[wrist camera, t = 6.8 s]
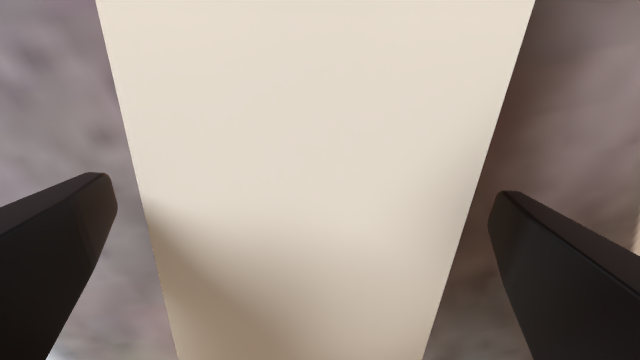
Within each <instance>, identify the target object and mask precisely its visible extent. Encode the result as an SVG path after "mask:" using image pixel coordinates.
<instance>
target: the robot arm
mask: <svg viewBox="0 0 640 360" xmlns="http://www.w3.org/2000/svg"><path fill="white" fill-rule="evenodd" d="M117 208H118V207H117V201H116V197H115V193H114V190H113V186H112V182H111V179H110V177H109V176H108V175H107V174H106V173H96V172H87V173H84V174H81V175H79V176H77V177H74V178H72V179H69V180H67V181H64V182H62V183H59V184H57V185H54V186H52V187H49V188H47V189H44V190H42V191H40V192H37V193H35V194H32V195H30V196H27V197H25V198H22V199H20V200H17V201H15V202H12V203H10V204H7V205H5V206H3V207H0V360H46V358H47V356H48V354H49V353H50V351H51V349H52V347H53V345H54V343H55V342H56V340H57V338H58V336H59V334H60V332H61V330H62V329H63V327H64V325H65V323H66V321H67V319H68V318H69V316H70V314H71V312H72V310H73V308H74V306H75V305H76V303H77V301H78V299H79V297H80V295H81V294H82V292H83V290H84V288H85V286H86V284H87V282H88V281H89V279H90V277H91V275H92V273H93V271H94V269H95V266H96V264H97V262H98V259H99V257H100V254H101V252H102V249H103V247H104V244H105V242H106V239H107V237H108V234H109V232H110V229H111V227H112V224H113V222H114V219H115V217H116V214H117ZM488 231H489V235H490V238H491V242H492V246H493V249H494V253H495V256H496V260H497V264H498V267H499V271H500V275H501V278H502V281H503V284H504V287H505V290H506V293H507V295H508V298H509V300H510V303H511V305H512V308H513V310H514V312H515V315H516V317H517V320H518V322H519V325H520V327H521V330H522V332H523V335H524V337H525V339H526V342H527V344H528V347H529V349H530V352H531V354H532V357H533V359H534V360H640V256H638V255H636V254H634V253H633V252H631V251H629V250H627V249H625V248H623V247H621V246H620V245H618V244H616V243H614V242H612V241H610V240H608V239H607V238H605V237H603V236H601V235H599V234H597V233H595V232H594V231H592V230H590V229H588V228H586V227H584V226H582V225H581V224H579V223H577V222H575V221H573V220H571V219H569V218H568V217H566V216H564V215H562V214H560V213H558V212H556V211H555V210H553V209H551V208H549V207H547V206H545V205H543V204H542V203H540V202H538V201H536V200H534V199H532V198H530V197H529V196H527V195H525V194H523V193H521V192H518V191H501V192H499V193H498V194H497V196H496V199H495V201H494V204H493V207H492V210H491V213H490V216H489V219H488Z"/></svg>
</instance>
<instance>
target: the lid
mask: <svg viewBox="0 0 640 360" xmlns="http://www.w3.org/2000/svg"><path fill="white" fill-rule="evenodd" d="M534 3H535V0H96V5H97V9H98V13H99V18H100V22H101V26H102V31H103V35H104V39H105V44H106V48H107V52H108V57H109V61H110V66H111V70H112V74H113V79H114V83H115V87H116V92H117V96H118V100H119V105H120V109H121V113H122V118H123V122H124V126H125V131H126V135H127V139H128V144H129V148H130V153H131V157H132V161H133V166H134V170H135V174H136V179H137V183H138V187H139V192H140V196H141V200H142V205H143V209H144V213H145V218H146V222H147V227H148V231H149V235H150V240H151V244H152V248H153V253H154V257H155V261H156V266H157V270H158V274H159V279H160V283H161V287H162V292H163V296H164V300H165V305H166V309H167V314H168V318H169V322H170V327H171V331H172V335H173V340H174V344H175V348H176V353H177V357H178V360H422V357H423V354H424V351H425V348H426V345H427V342H428V338H429V335H430V332H431V329H432V326H433V323H434V319H435V316H436V313H437V310H438V307H439V304H440V300H441V297H442V294H443V291H444V288H445V285H446V281H447V278H448V275H449V272H450V269H451V266H452V262H453V259H454V256H455V253H456V250H457V247H458V243H459V240H460V237H461V234H462V231H463V228H464V224H465V221H466V218H467V215H468V212H469V208H470V205H471V202H472V199H473V196H474V193H475V189H476V186H477V183H478V180H479V177H480V174H481V170H482V167H483V164H484V161H485V158H486V155H487V151H488V148H489V145H490V142H491V139H492V136H493V132H494V129H495V126H496V123H497V120H498V117H499V113H500V110H501V107H502V104H503V101H504V98H505V94H506V91H507V88H508V85H509V82H510V79H511V75H512V72H513V69H514V66H515V63H516V60H517V56H518V53H519V50H520V47H521V44H522V41H523V37H524V34H525V31H526V28H527V25H528V22H529V18H530V15H531V12H532V9H533V6H534Z"/></svg>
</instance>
